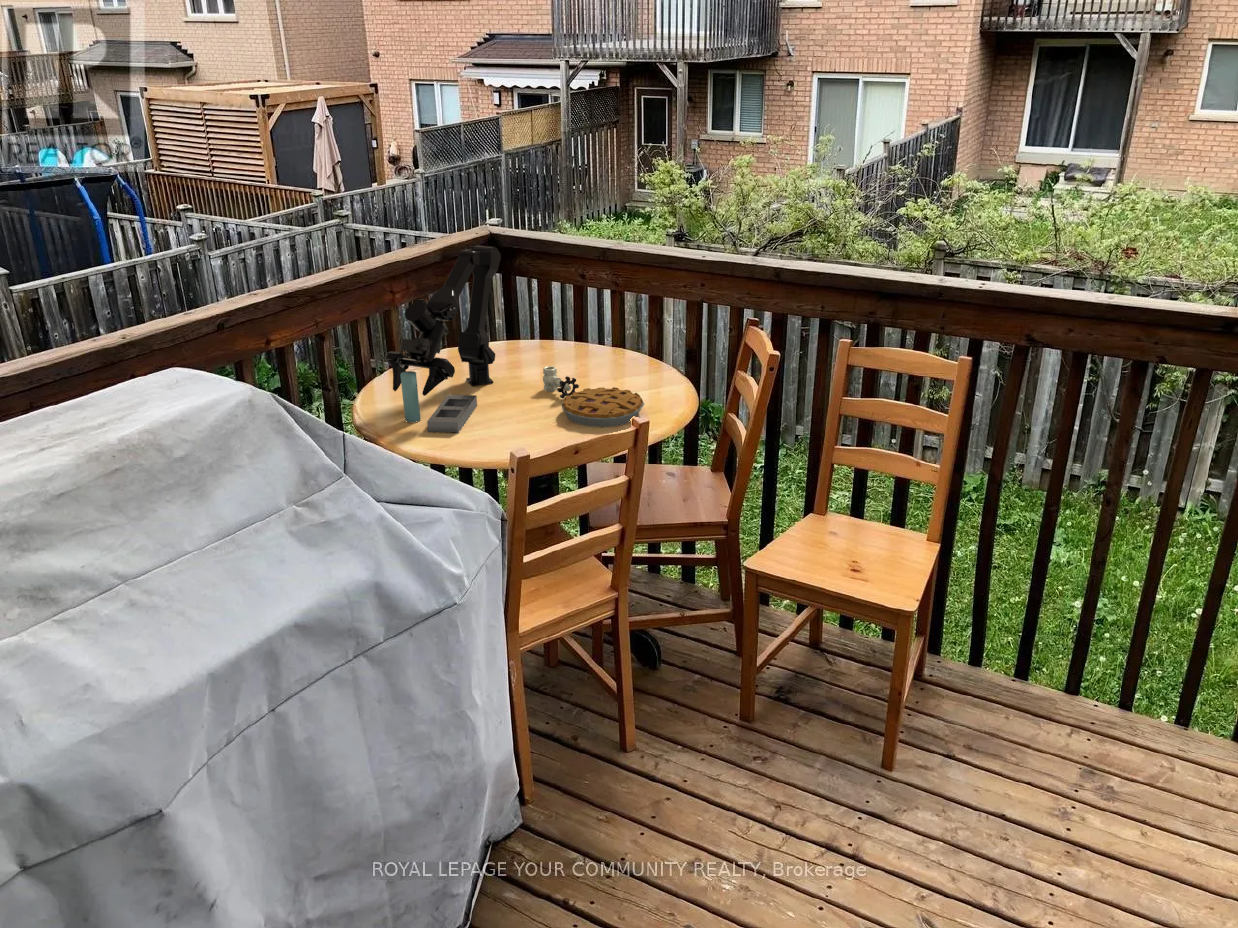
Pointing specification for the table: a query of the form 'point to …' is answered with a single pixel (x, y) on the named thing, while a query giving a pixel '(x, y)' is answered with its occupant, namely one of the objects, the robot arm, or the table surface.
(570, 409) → the pie
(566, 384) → the valve
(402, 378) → the dowel
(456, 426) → the grey slotted block
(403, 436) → the table surface
